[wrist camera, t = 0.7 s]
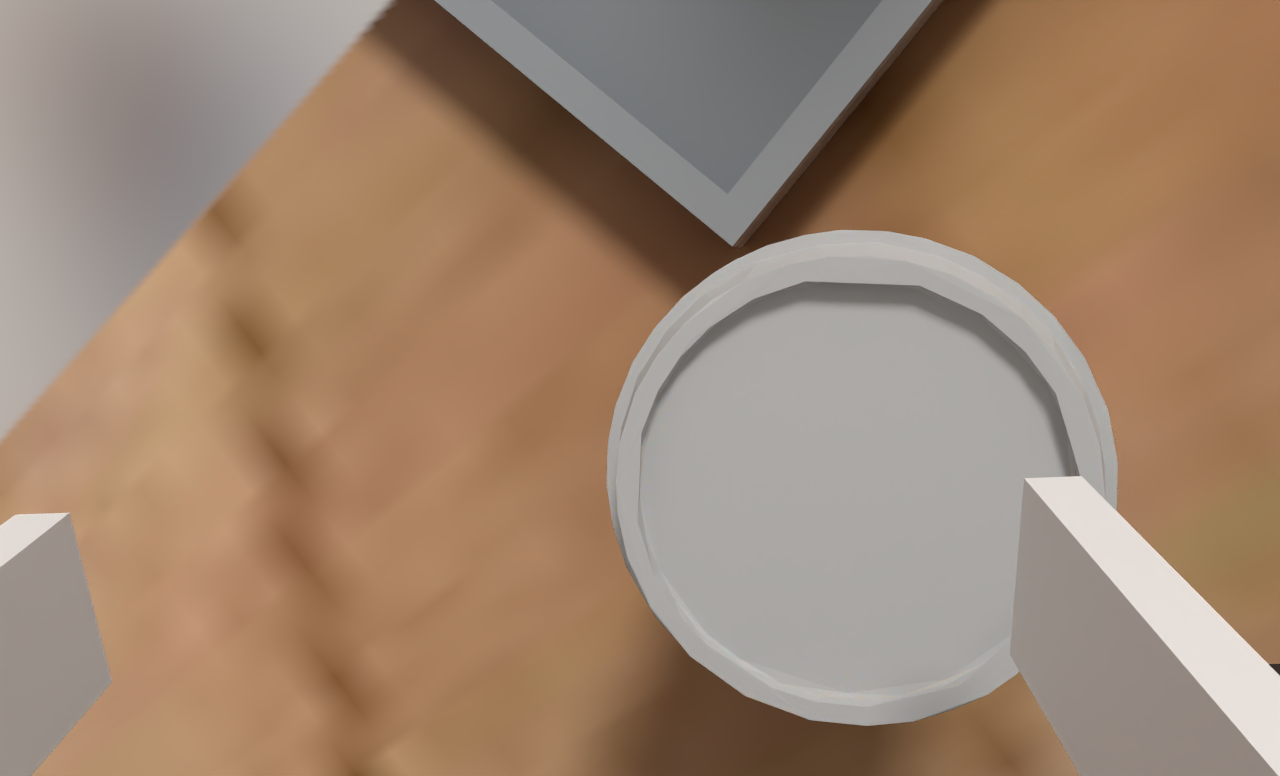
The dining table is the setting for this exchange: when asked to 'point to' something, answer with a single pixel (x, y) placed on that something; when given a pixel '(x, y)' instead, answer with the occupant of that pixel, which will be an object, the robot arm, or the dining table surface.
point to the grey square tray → (705, 83)
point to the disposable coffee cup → (848, 470)
